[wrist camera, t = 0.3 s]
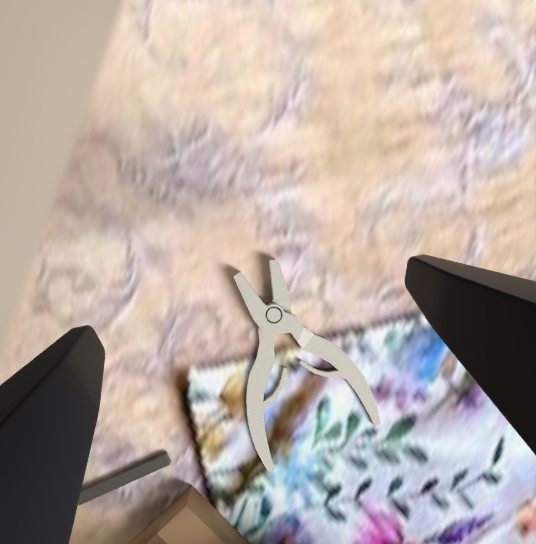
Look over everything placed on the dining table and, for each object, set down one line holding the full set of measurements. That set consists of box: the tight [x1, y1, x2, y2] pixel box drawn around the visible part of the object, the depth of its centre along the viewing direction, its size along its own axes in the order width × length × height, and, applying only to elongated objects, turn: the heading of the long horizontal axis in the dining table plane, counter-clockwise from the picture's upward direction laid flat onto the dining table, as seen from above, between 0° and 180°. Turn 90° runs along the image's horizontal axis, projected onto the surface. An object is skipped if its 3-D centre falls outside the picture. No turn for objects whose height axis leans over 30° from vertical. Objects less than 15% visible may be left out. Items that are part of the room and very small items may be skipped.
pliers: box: [234, 259, 380, 472], centre depth 23 cm, size 10×2×15 cm
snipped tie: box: [78, 452, 171, 505], centre depth 22 cm, size 7×1×1 cm, turn 113°
